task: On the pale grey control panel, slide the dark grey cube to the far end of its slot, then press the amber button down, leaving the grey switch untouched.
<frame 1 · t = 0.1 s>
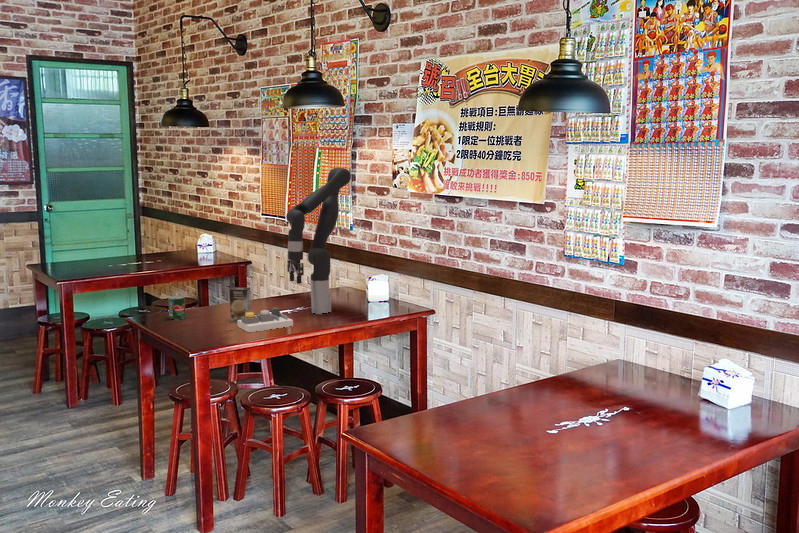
hand: (295, 282, 371), 17 cm above the table, tool pointing down, fingers open, 8 cm apart
dark grey cube: (275, 312, 359), point 5 cm above the table, slide at 0.0 cm
amber button: (249, 316, 348), point 6 cm above the table, slide at 0.0 cm
canned tomato: (177, 319, 372), on the table
control panel: (265, 326, 353), on the table
coffee box: (241, 320, 366), on the table
grey switch: (264, 314, 352), point 6 cm above the table, slide at 0.0 cm
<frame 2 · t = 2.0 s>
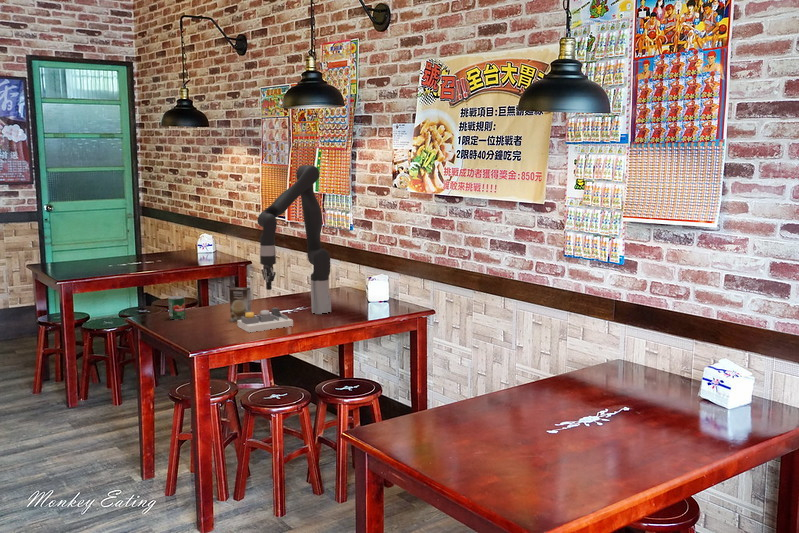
hand: (268, 289, 363), 15 cm above the table, tool pointing down, fingers closed
nothing on the table moved.
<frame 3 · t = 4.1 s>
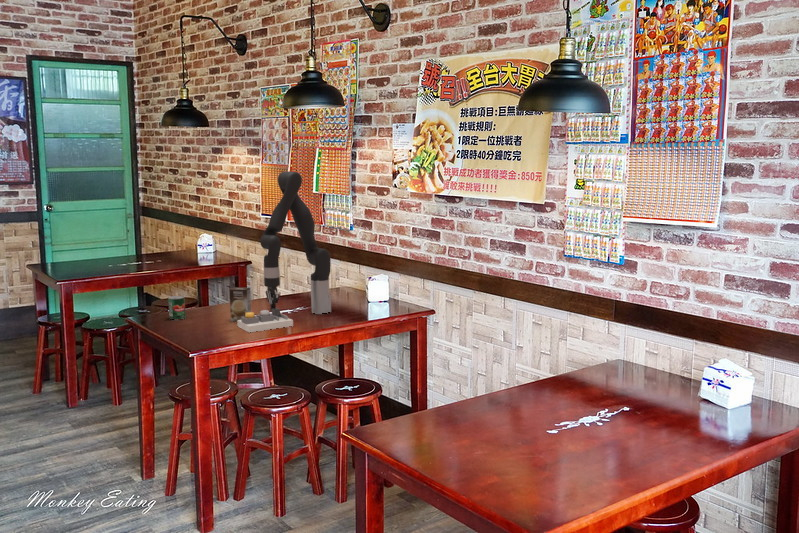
hand: (273, 311, 361), 5 cm above the table, tool pointing down, fingers closed
dark grey cube: (276, 312, 359), point 5 cm above the table, slide at 0.6 cm, touching gripper
everything else where it was.
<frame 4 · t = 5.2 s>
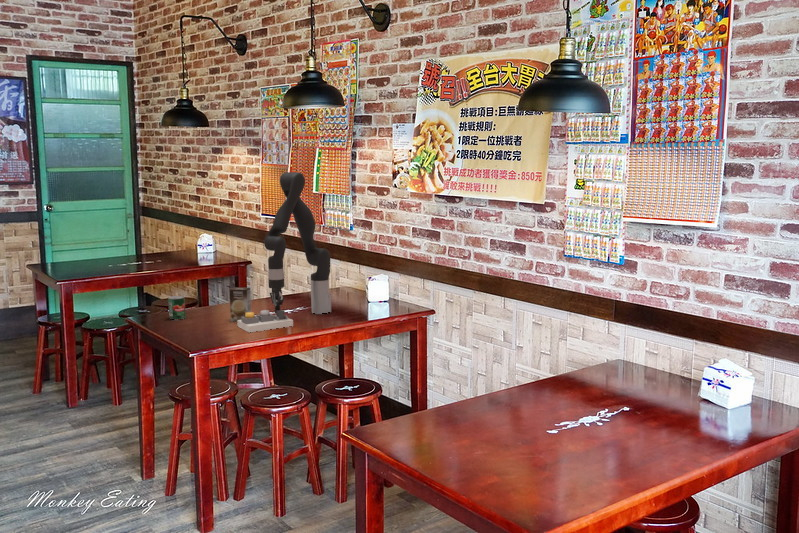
hand: (277, 313, 357), 5 cm above the table, tool pointing down, fingers closed
dark grey cube: (280, 314, 354), point 5 cm above the table, slide at 6.1 cm, touching gripper
everything else where it was.
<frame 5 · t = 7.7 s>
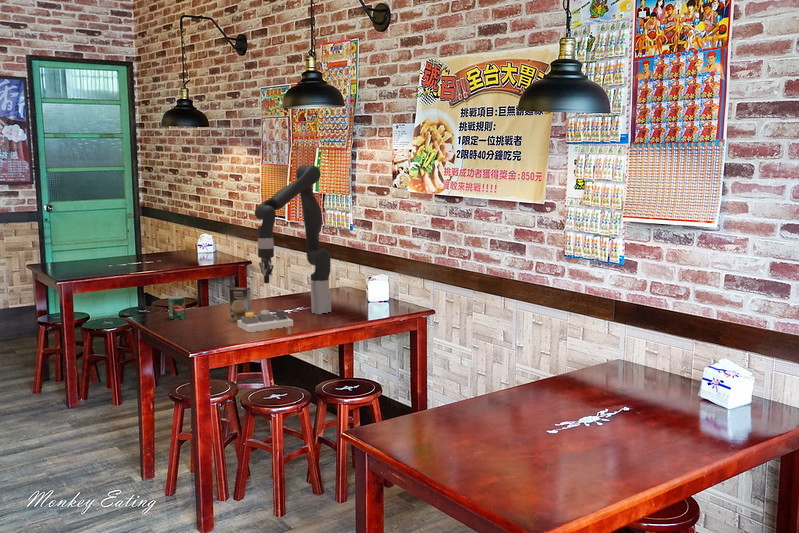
hand: (266, 283, 357), 20 cm above the table, tool pointing down, fingers closed
dark grey cube: (280, 314, 354), point 5 cm above the table, slide at 6.1 cm
everything else where it was.
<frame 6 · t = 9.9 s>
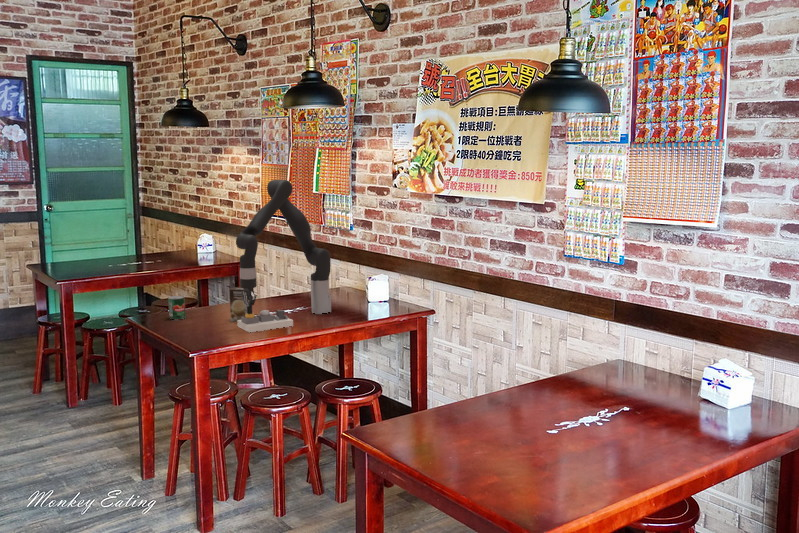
hand: (249, 313, 348), 7 cm above the table, tool pointing down, fingers closed
amber button: (249, 316, 348), point 6 cm above the table, slide at 0.4 cm, touching gripper
everything else where it was.
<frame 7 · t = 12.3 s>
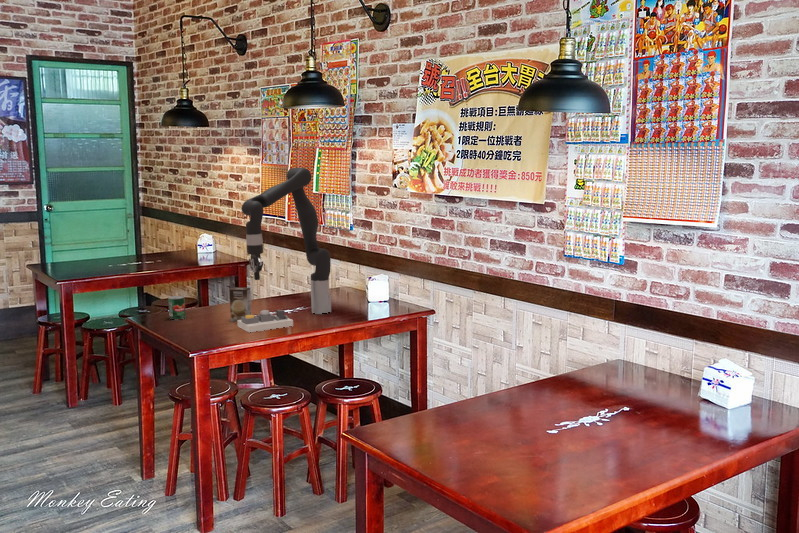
hand: (257, 279, 351), 22 cm above the table, tool pointing down, fingers closed
amber button: (249, 318, 348), point 5 cm above the table, slide at 1.3 cm
everything else where it was.
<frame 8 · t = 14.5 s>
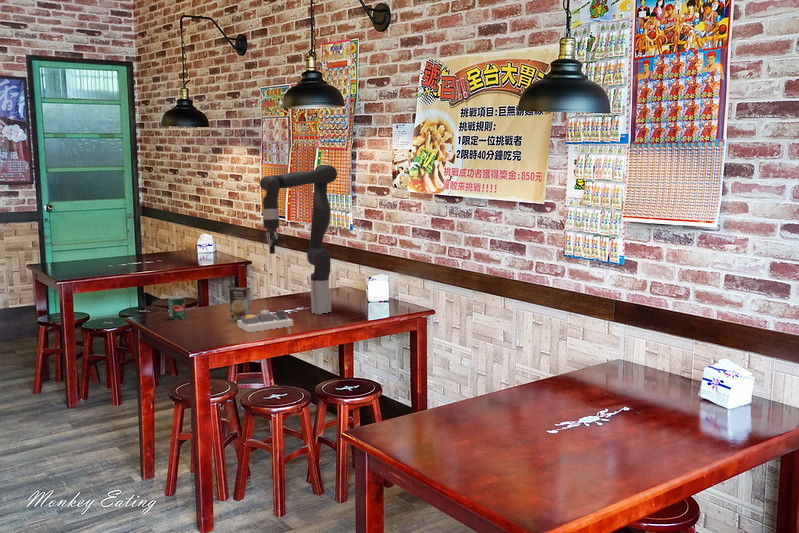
hand: (272, 253, 361), 33 cm above the table, tool pointing down, fingers closed
nothing on the table moved.
at the end: dark grey cube slide at 6.1 cm; amber button slide at 1.3 cm; grey switch slide at 0.0 cm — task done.
